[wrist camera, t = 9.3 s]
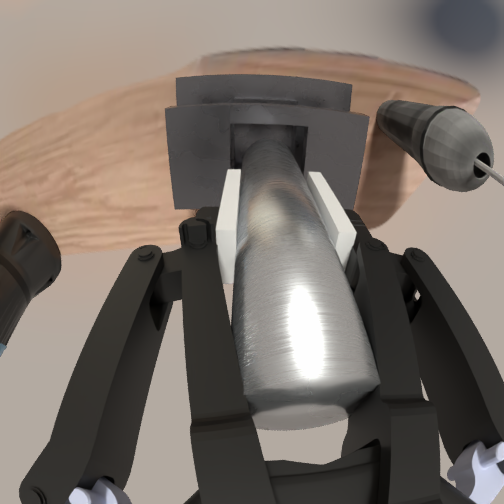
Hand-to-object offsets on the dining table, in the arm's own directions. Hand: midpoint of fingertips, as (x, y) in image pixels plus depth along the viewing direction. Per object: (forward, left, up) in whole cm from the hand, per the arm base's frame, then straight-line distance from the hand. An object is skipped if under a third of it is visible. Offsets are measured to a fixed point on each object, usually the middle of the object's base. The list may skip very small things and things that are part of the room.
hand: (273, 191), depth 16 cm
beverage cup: (+15, +4, -15) cm, 21 cm away
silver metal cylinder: (0, 0, -5) cm, 5 cm away
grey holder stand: (0, 0, -15) cm, 15 cm away
